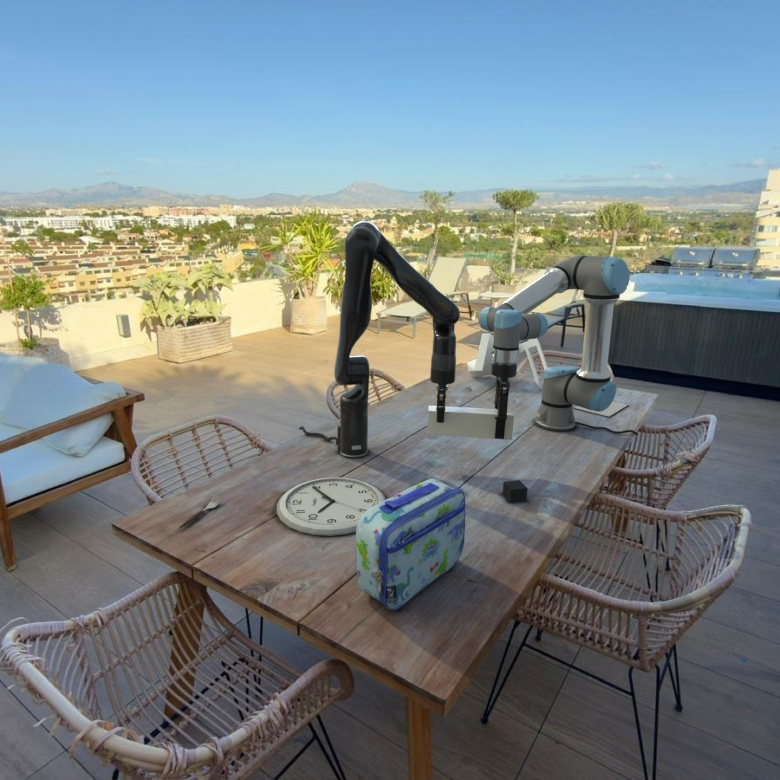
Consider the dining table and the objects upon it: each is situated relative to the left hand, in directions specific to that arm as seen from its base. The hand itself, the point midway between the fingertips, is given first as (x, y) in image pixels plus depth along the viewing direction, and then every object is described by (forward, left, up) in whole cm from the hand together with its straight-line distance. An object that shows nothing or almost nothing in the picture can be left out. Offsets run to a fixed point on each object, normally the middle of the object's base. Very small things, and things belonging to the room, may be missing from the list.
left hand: (440, 418), depth 164 cm
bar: (+8, +4, -5) cm, 10 cm away
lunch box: (+20, -55, -16) cm, 61 cm away
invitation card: (+34, +91, -16) cm, 98 cm away
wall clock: (-13, -39, -16) cm, 44 cm away
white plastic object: (-12, +102, -16) cm, 104 cm away
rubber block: (+28, -7, -16) cm, 33 cm away
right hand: (+17, +7, -4) cm, 19 cm away
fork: (-39, -61, -16) cm, 75 cm away
